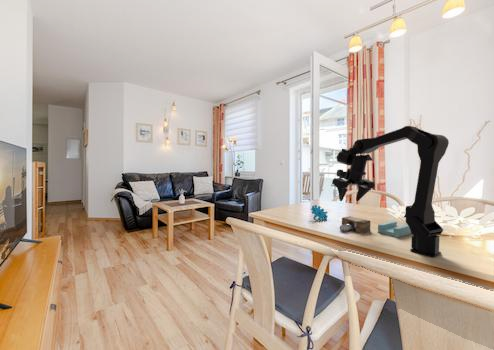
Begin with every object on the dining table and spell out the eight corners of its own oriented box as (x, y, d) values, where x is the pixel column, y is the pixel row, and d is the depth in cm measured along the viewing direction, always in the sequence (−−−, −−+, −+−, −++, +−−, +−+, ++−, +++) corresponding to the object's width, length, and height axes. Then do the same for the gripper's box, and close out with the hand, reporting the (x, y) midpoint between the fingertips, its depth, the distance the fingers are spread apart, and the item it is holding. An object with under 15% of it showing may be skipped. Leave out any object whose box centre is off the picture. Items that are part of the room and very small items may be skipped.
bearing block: (370, 230, 100) (370, 220, 100) (362, 233, 97) (362, 222, 97) (349, 225, 109) (349, 216, 109) (341, 227, 106) (341, 217, 106)
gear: (317, 219, 115) (309, 203, 121) (310, 225, 118) (303, 209, 125) (332, 220, 119) (324, 204, 126) (326, 225, 123) (318, 210, 130)
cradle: (412, 232, 97) (412, 225, 97) (397, 237, 91) (398, 228, 91) (392, 228, 104) (392, 221, 104) (377, 232, 98) (378, 224, 98)
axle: (357, 228, 106) (355, 222, 107) (363, 227, 104) (360, 221, 105) (341, 232, 100) (338, 226, 101) (346, 231, 98) (343, 224, 99)
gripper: (361, 164, 108) (353, 194, 113) (328, 162, 103) (321, 194, 107) (379, 171, 98) (370, 203, 103) (344, 169, 93) (336, 203, 97)
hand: (348, 200), depth 103 cm, fingers open, 9 cm apart
